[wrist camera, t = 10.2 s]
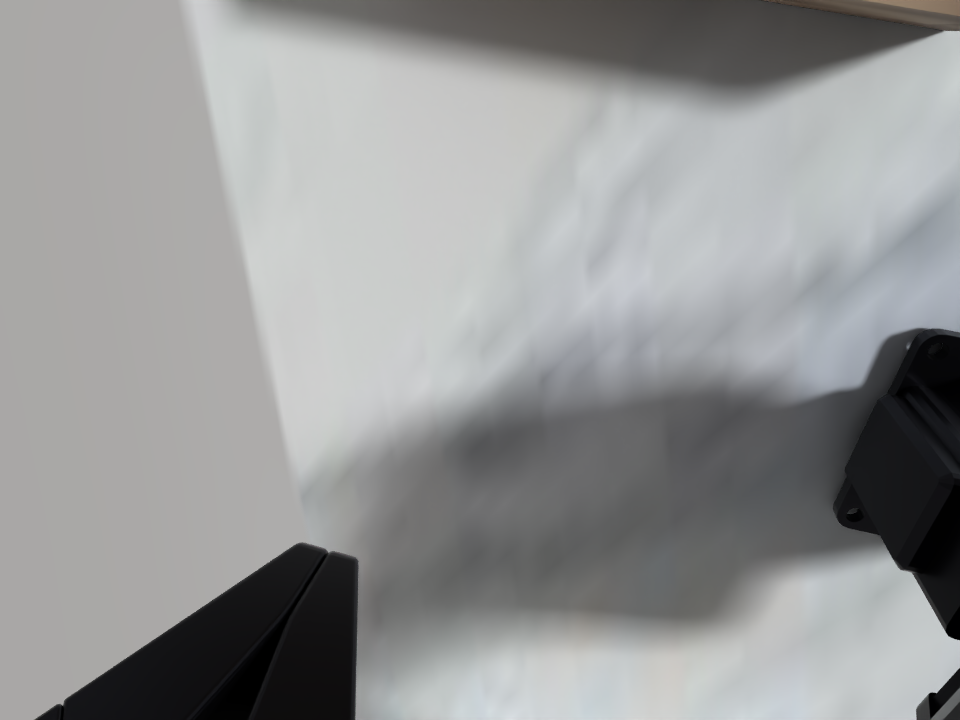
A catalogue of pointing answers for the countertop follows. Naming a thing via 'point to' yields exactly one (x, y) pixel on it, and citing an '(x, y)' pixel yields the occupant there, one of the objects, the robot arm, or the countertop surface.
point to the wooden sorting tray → (892, 10)
